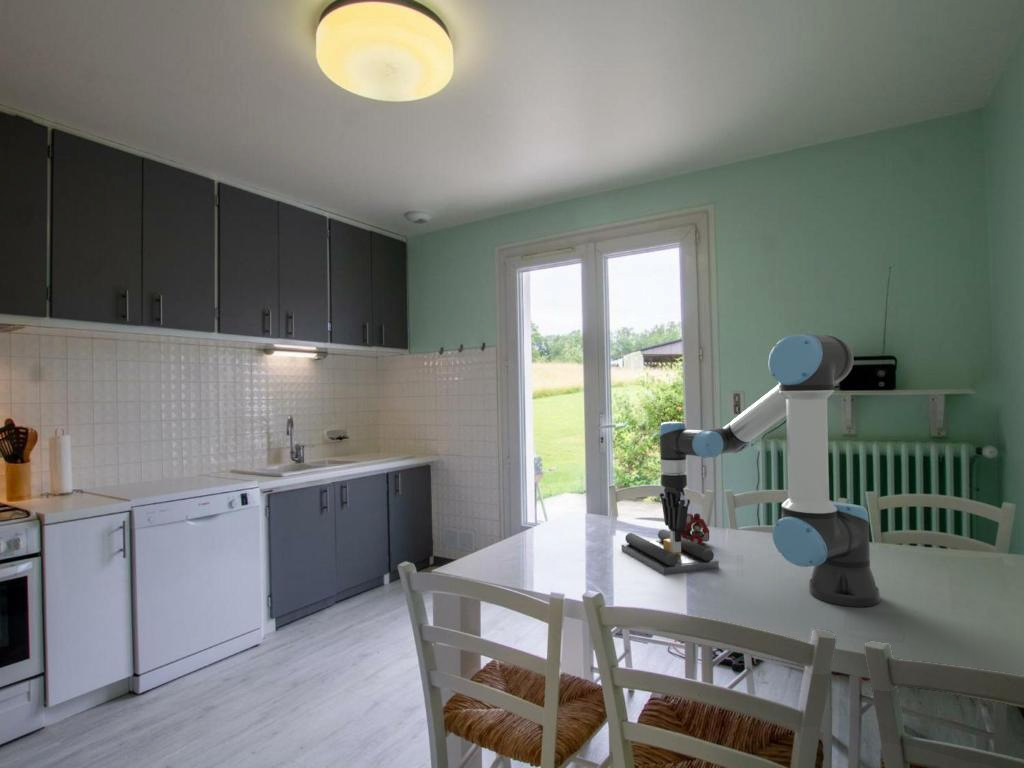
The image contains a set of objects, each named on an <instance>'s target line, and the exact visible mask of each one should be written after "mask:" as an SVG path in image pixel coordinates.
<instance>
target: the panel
mask: <svg viewBox="0 0 1024 768" xmlns="http://www.w3.org/2000/svg"><path fill="white" fill-rule="evenodd" d="M648 541H649V542H651V543H653V544H655V545H657V546H659V547H661V548H663V549H664V546H663V541H662V540H660V539H659V540H648ZM621 551H622V552H624V553H625V554H627V555H628V556H630V557H632V558H634V559H635V560H638V562H641V563H643V564H645V565H646V566H647V567H650V568H651V569H653V570H655V571H656V572H658V573H659V574H661V575H663V576H666V575H668V576H669V575H674V574H683V573H691V572H697V571H699V572H700V571H705V570H711V569H713V570H714V569H719V568H720V566H719V565H720V564H719V562H720V561H719V560H717V559H715V558H713V559H712V560H711V561H704V560H702V559H700V558H698V557H696V556H694V555H692V554H690V553H687V552H685V551H683V550H681V554H675V555H676V556H677V559H678V561H677V564H676V565H674V566H669V565H667V564H665V563H663V562H661V561H660V560H658V559H656V558H654V557H652V556H650V555H649V554H647V553H645V552H643V551H641V550H639V549H637V548H636V547H634V546H632V545H630V544H628V543H623V544H622V543H621Z"/></svg>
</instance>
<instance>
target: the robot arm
mask: <svg viewBox="0 0 1024 768" xmlns="http://www.w3.org/2000/svg"><path fill="white" fill-rule="evenodd" d="M853 366H854V352H853V350H852V349H851V347H850V346H849V344H848V343H847V342H845V341H844V340H843V339H841V338H840V337H837V336H834V335H822V334H821V335H820V334H808V333H805V334H803V333H801V334H791V335H788V336H785V337H783V338H782V339H781V340H778V342H777V343H776V344H775V345H774V346H773V348H772V349H771V350H770V353H769V356H768V369H769V373H770V374H771V376H773V377H774V378H773V379H774V380H776V381H777V382H778V384H777V385H776V386H774V387H773V388H771V390H769V391H768V392H767V393H766V394H764V395H763V396H762V397H760V398H759V399H758V400H756V402H754V403H752V404H751V405H750V406H749V407H747V409H745V410H744V411H742V412H741V413H740V414H739V415H737V416H736V417H735V418H734V419H732V420H731V421H730V422H729V423H727V424H726V425H725V426H723V427H721V428H711V429H710V428H709V429H687V428H686V423H684V422H682V421H664V422H663V421H662V422H661V423H660V425H659V449H660V453H659V454H660V459H659V461H660V473H661V474H660V485H661V486H662V487H664V490H663V492H660V493H659V497H660V500H661V507H662V512H663V514H662V515H663V519H664V524H665V526H667V528H668V529H669V532H670V549H671V552H673V553H675V552H681V530H685V529H686V521H687V513H689V507H690V503H691V501H690V499H687V497H686V496H685V491H684V488H686V487H687V486H688V479H687V477H688V475H687V456H693V457H700V458H702V459H703V458H704V459H706V458H709V459H710V458H712V459H713V458H717V457H718V456H719V455H722V454H723V455H724V454H736V453H739V452H743V451H746V449H747V448H748V447H749V444H750V442H751V440H753V439H754V438H756V437H758V436H759V435H761V434H762V433H763V432H765V431H766V430H767V429H768V428H770V427H772V426H773V425H774V424H775V423H777V422H778V421H780V420H781V419H783V418H784V417H785V416H786V449H787V451H786V453H787V487H788V488H787V490H788V491H787V492H788V493H787V494H788V495H787V496H788V497H787V499H786V500H784V502H782V503H781V518H780V519H778V520H777V522H776V523H775V524H774V526H773V528H772V535H771V536H772V539H773V544H774V546H775V549H776V550H777V551H778V553H779V554H781V555H782V557H783V558H784V559H785V560H786V561H788V562H789V563H791V564H793V565H795V566H797V567H801V568H809V567H813V570H812V573H811V578H809V582H808V590H809V593H810V595H811V596H813V597H815V598H816V599H819V600H821V601H822V602H823V601H824V602H827V603H830V604H833V603H834V605H839V606H844V607H855V608H856V607H857V608H858V607H859V608H862V607H864V606H867V607H873V606H876V605H878V604H880V602H881V597H880V596H881V595H880V593H881V592H880V590H879V587H878V586H877V584H876V581H875V577H874V575H873V572H872V570H871V559H870V558H871V557H870V556H871V554H870V550H871V549H870V520H869V513H868V512H869V511H868V510H867V508H866V507H865V506H862V505H858V504H853V503H845V502H840V501H830V483H829V482H830V478H829V474H830V473H829V437H828V435H829V432H828V431H829V429H828V399H829V397H830V396H831V395H832V394H833V393H835V386H836V385H837V384H839V383H840V382H842V381H843V380H844V379H845V378H846V377H847V376H848V375H849V374H850V372H851V371H852V369H853ZM877 603H878V604H877ZM875 604H876V605H875ZM872 605H873V606H872Z"/></svg>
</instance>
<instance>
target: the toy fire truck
mask: <svg viewBox="0 0 1024 768" xmlns="http://www.w3.org/2000/svg"><path fill="white" fill-rule="evenodd" d="M681 537H683V538H685V539H687V540H689V541H692V542H694V543H696V544H699V545H701V546H703V545H702V544H703V543H705V542H706V543H707V542H709V540H710V529H709V528H708V525H707V524H706V522H705V520H704V518H701V515H700V513H698V512H697V513H694V515H693V514H692V513H689V512H688V513H687V521H686V529H685V530H681Z"/></svg>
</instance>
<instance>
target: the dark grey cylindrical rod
mask: <svg viewBox="0 0 1024 768" xmlns="http://www.w3.org/2000/svg"><path fill="white" fill-rule="evenodd" d="M657 533H658V534H657V537H658V539H659V540H662V541H663V539H670V530H667V529H659V531H658V532H657ZM681 550H683V551H685V552H687V553H690V554H692V555H694V556H696V557H698V558H700V559H702V560H704V561H711V560H712V559H715V558H714V556H715V554H714V552H713V550H712V549H709V548H708V547H705V546H703V545H699V544H696V543H694V542H692V541H690V540H687V539H685V538H683V537H681Z"/></svg>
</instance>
